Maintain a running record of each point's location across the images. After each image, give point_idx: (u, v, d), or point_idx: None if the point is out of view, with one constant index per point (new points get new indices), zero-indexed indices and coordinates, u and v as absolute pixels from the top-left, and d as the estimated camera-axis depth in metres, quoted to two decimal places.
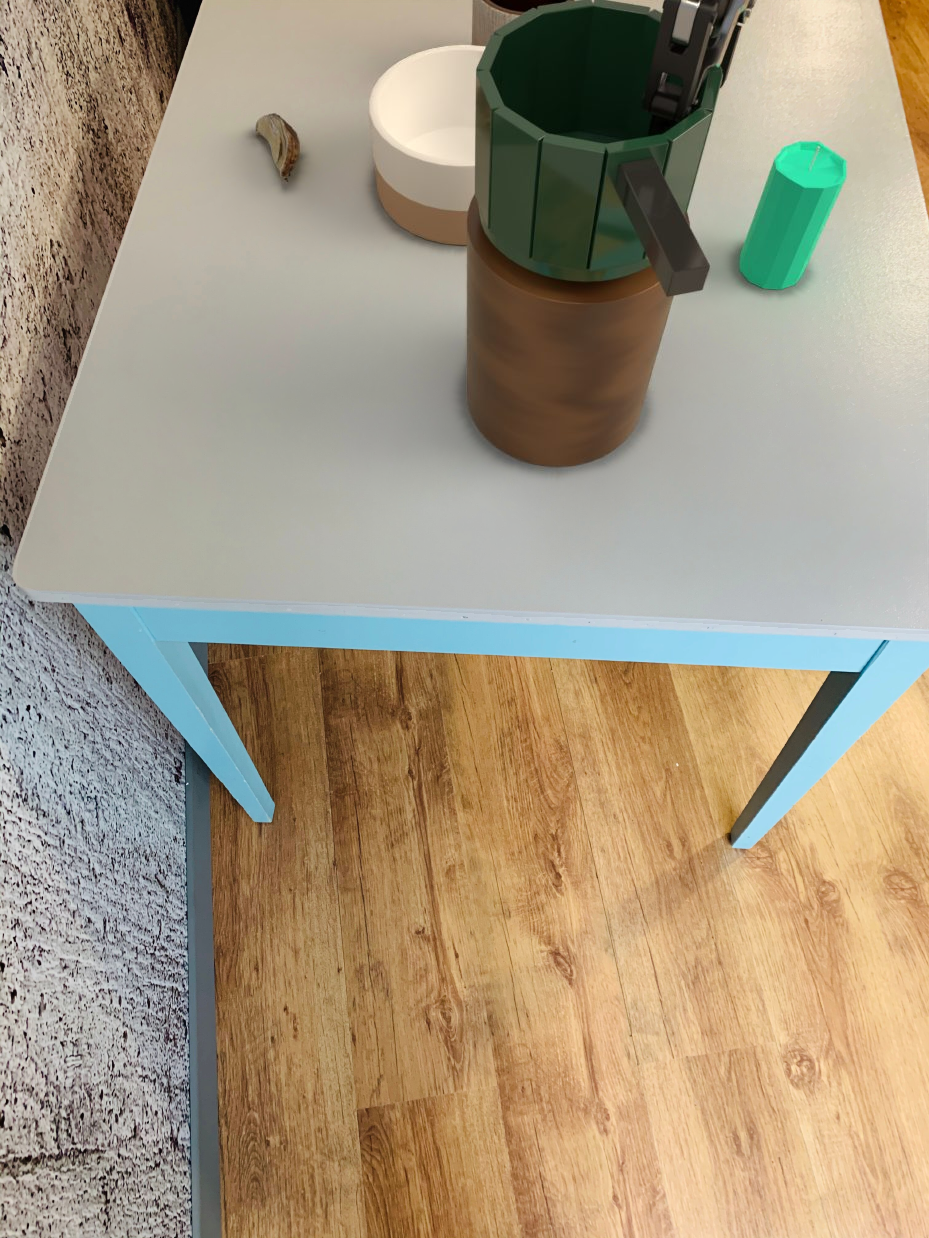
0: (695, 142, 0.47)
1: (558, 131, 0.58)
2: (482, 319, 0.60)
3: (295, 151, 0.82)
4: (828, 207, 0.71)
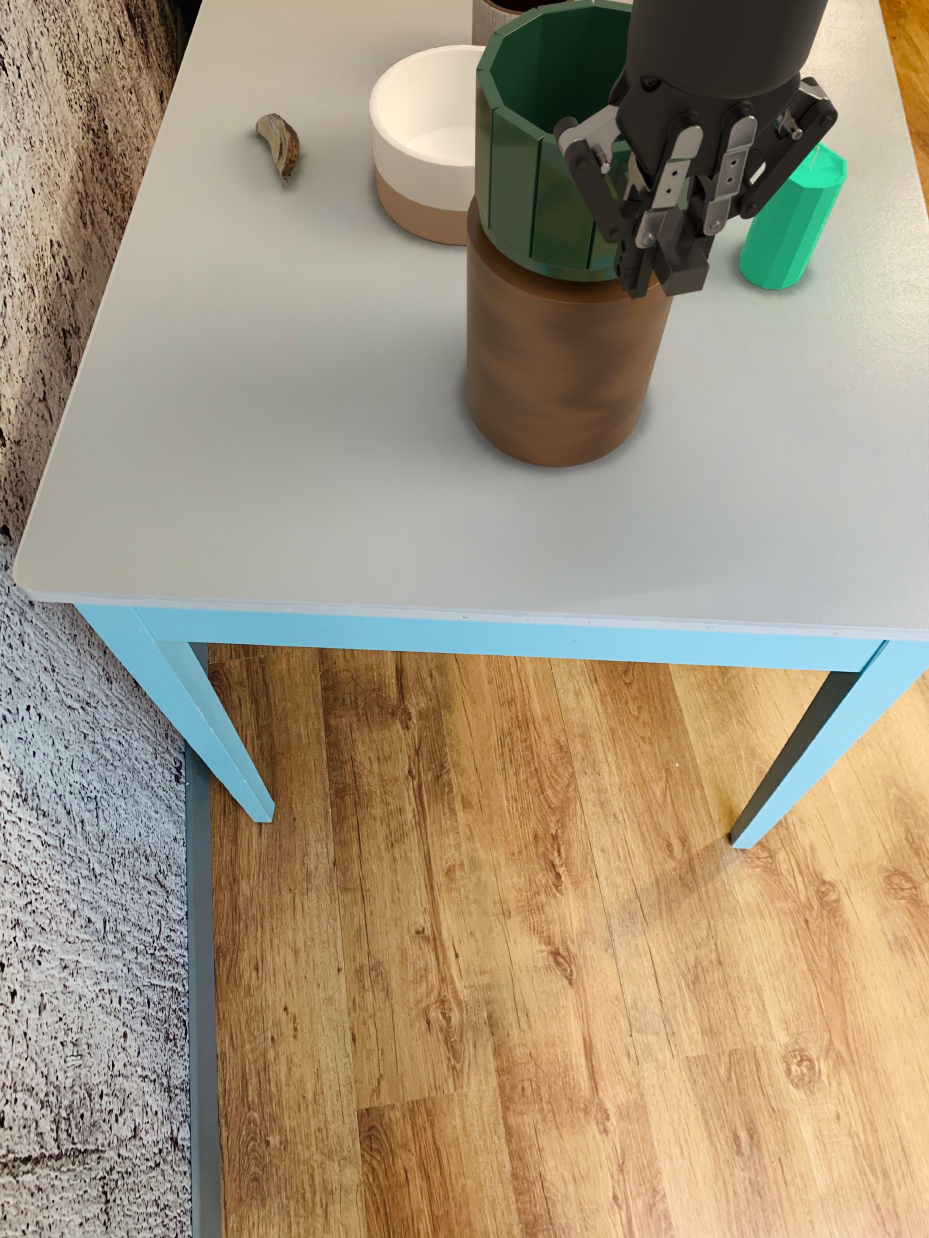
0: None
1: None
2: (482, 319, 0.60)
3: (295, 151, 0.82)
4: (828, 207, 0.71)
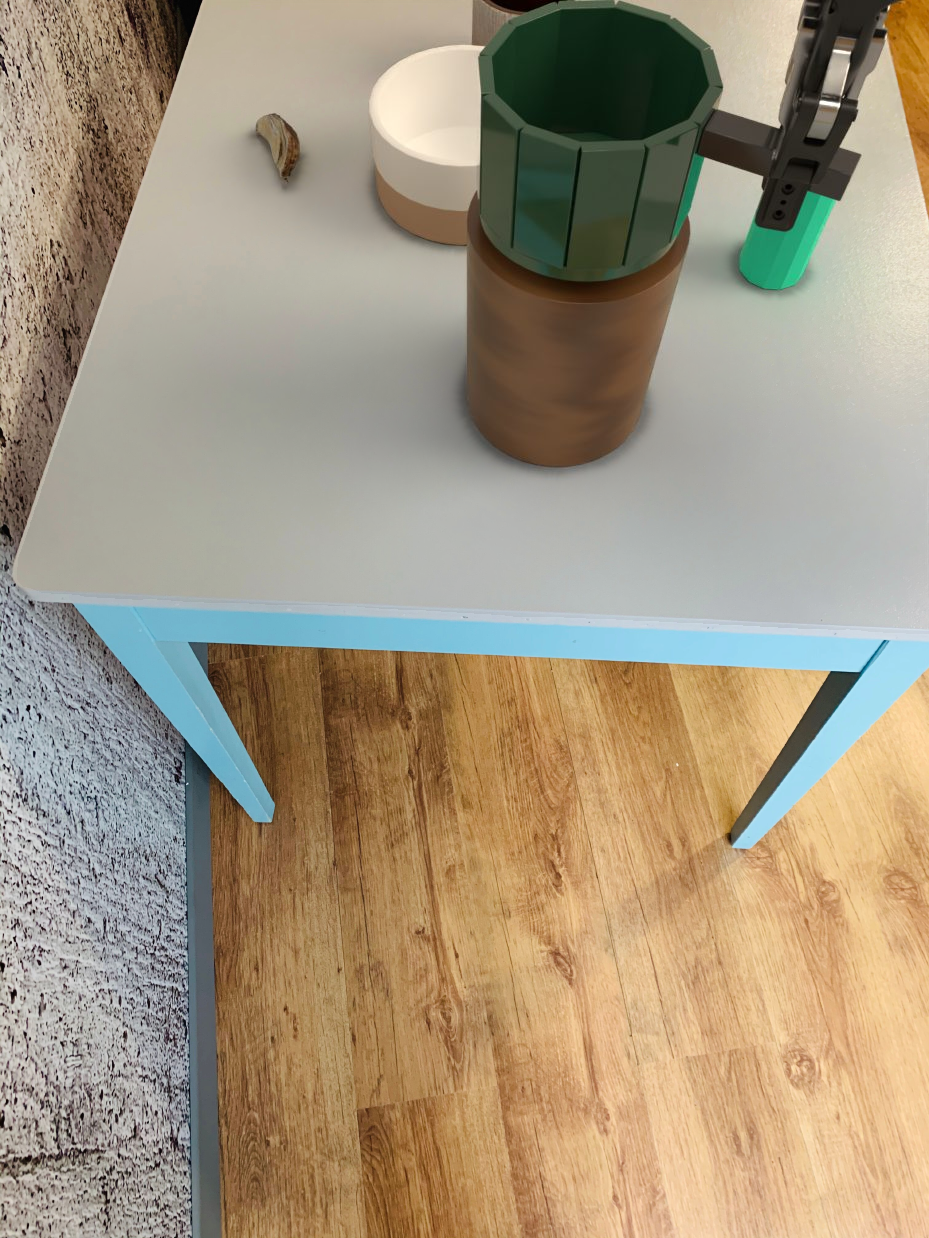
0: None
1: None
2: (482, 319, 0.60)
3: (295, 151, 0.82)
4: (828, 207, 0.71)
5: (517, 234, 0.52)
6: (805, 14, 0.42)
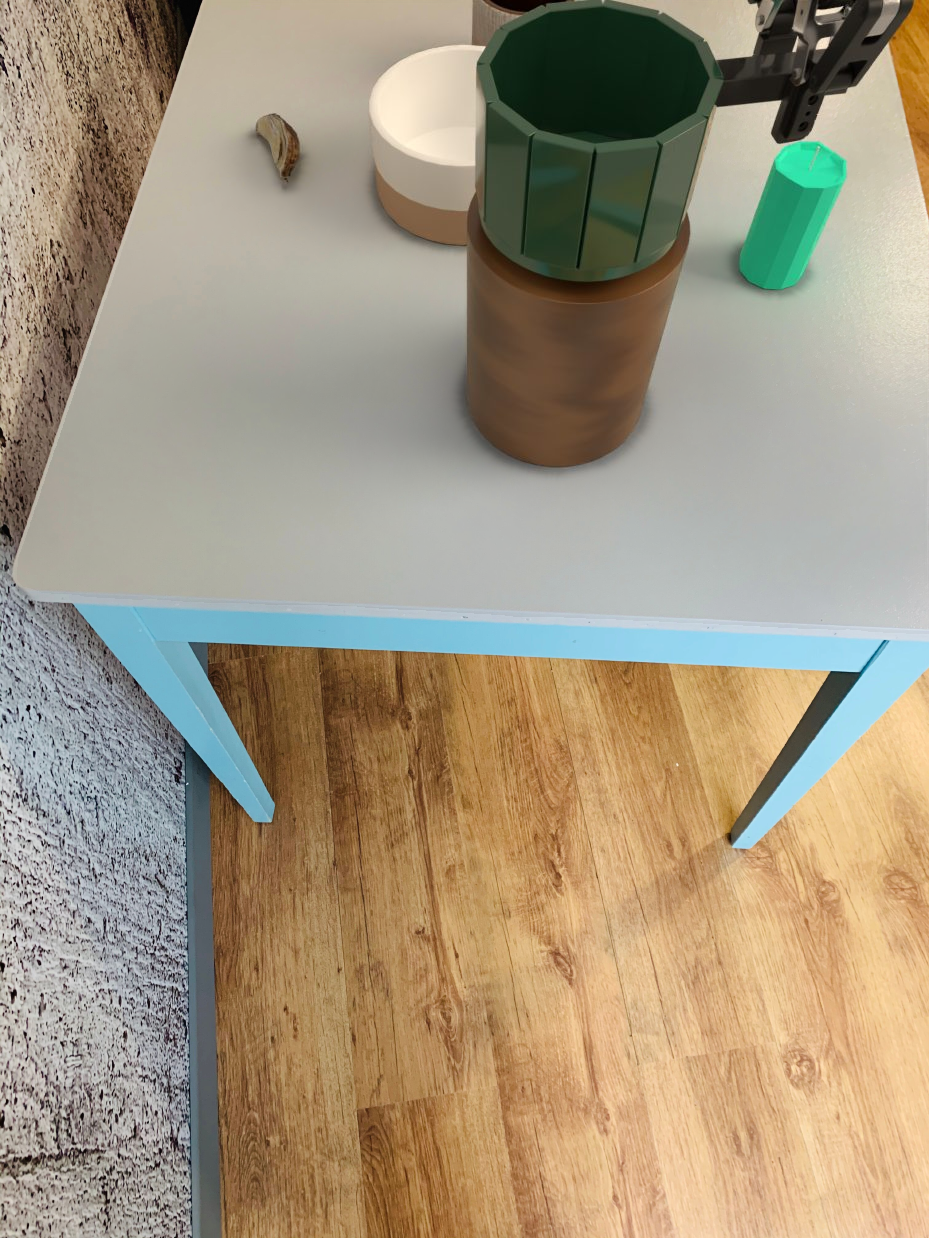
0: None
1: None
2: (482, 319, 0.60)
3: (295, 151, 0.82)
4: (828, 207, 0.71)
5: (585, 253, 0.51)
6: None
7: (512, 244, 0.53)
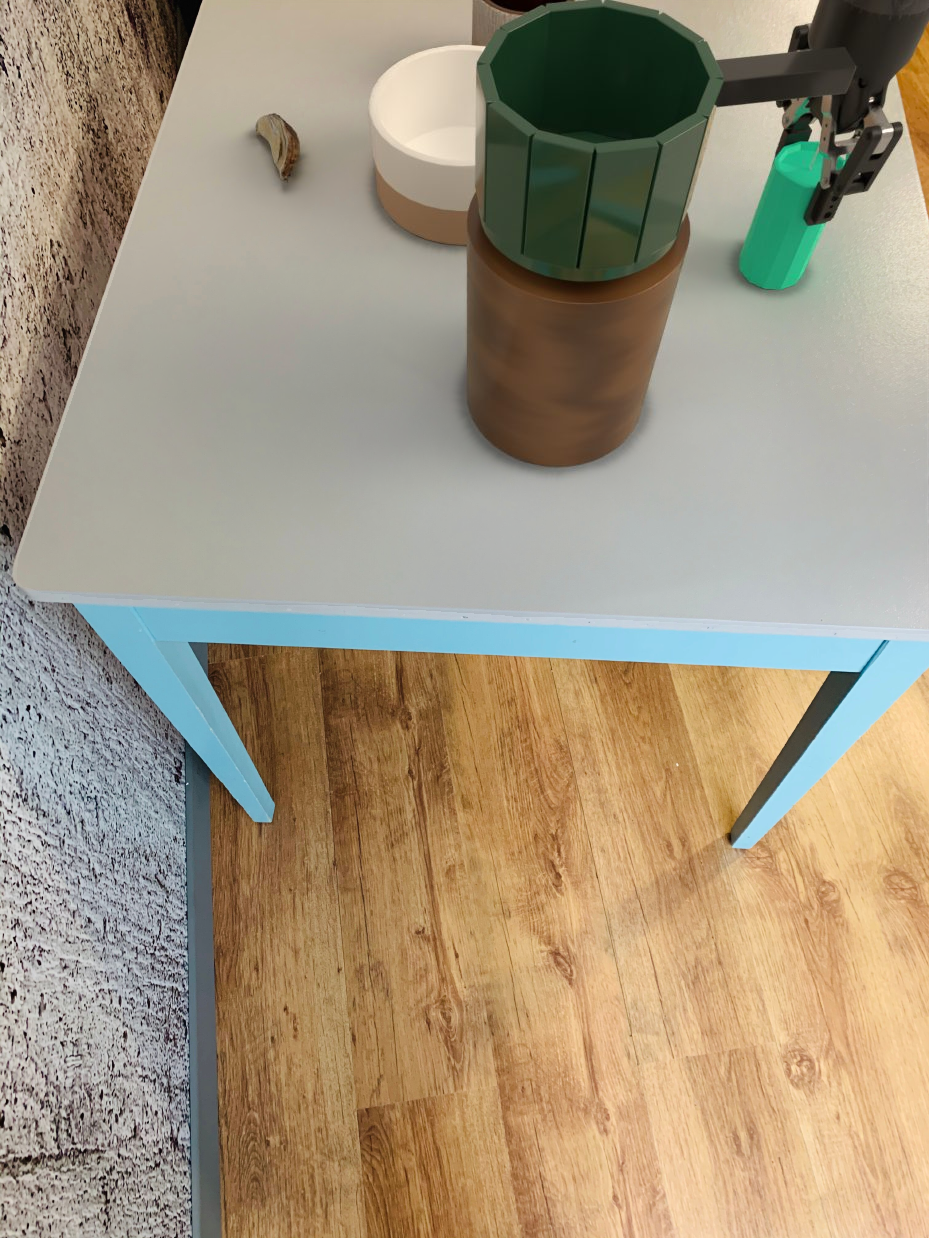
0: None
1: None
2: (482, 319, 0.60)
3: (295, 151, 0.82)
4: None
5: (585, 253, 0.51)
6: None
7: (512, 244, 0.53)
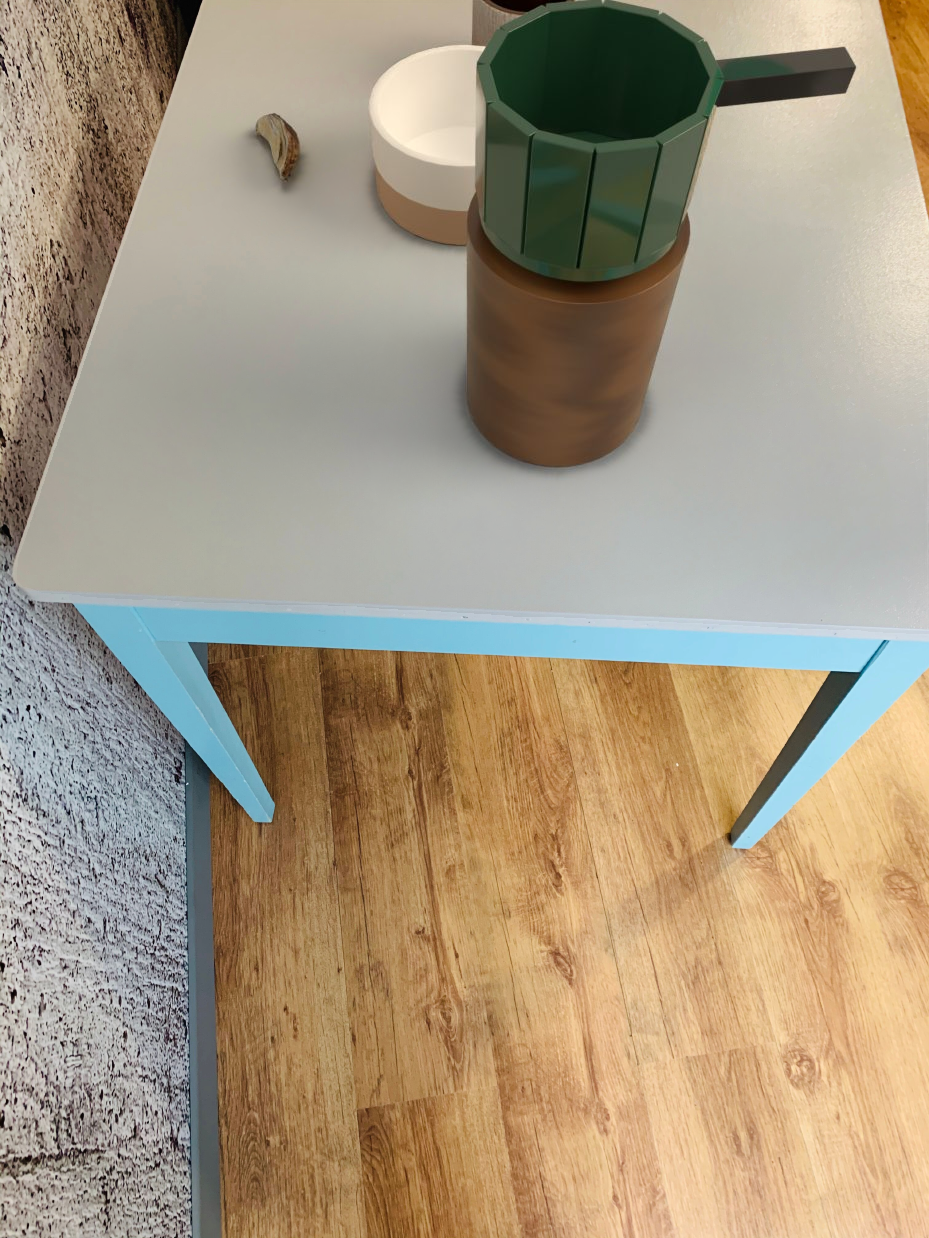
0: None
1: None
2: (482, 319, 0.60)
3: (295, 151, 0.82)
4: None
5: (585, 253, 0.51)
6: None
7: (512, 244, 0.53)
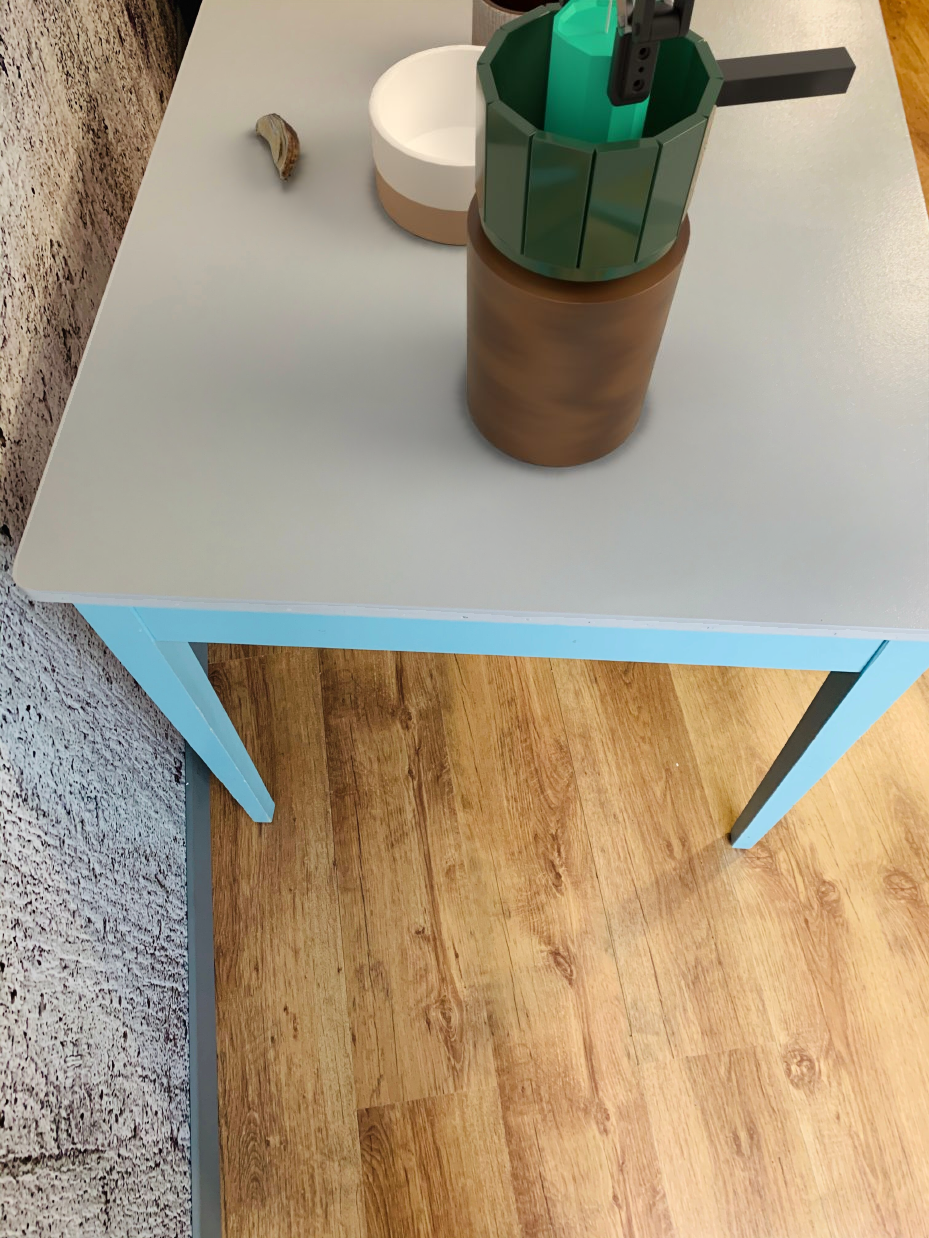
0: None
1: None
2: (482, 319, 0.60)
3: (295, 151, 0.82)
4: None
5: (585, 253, 0.51)
6: None
7: (512, 244, 0.53)
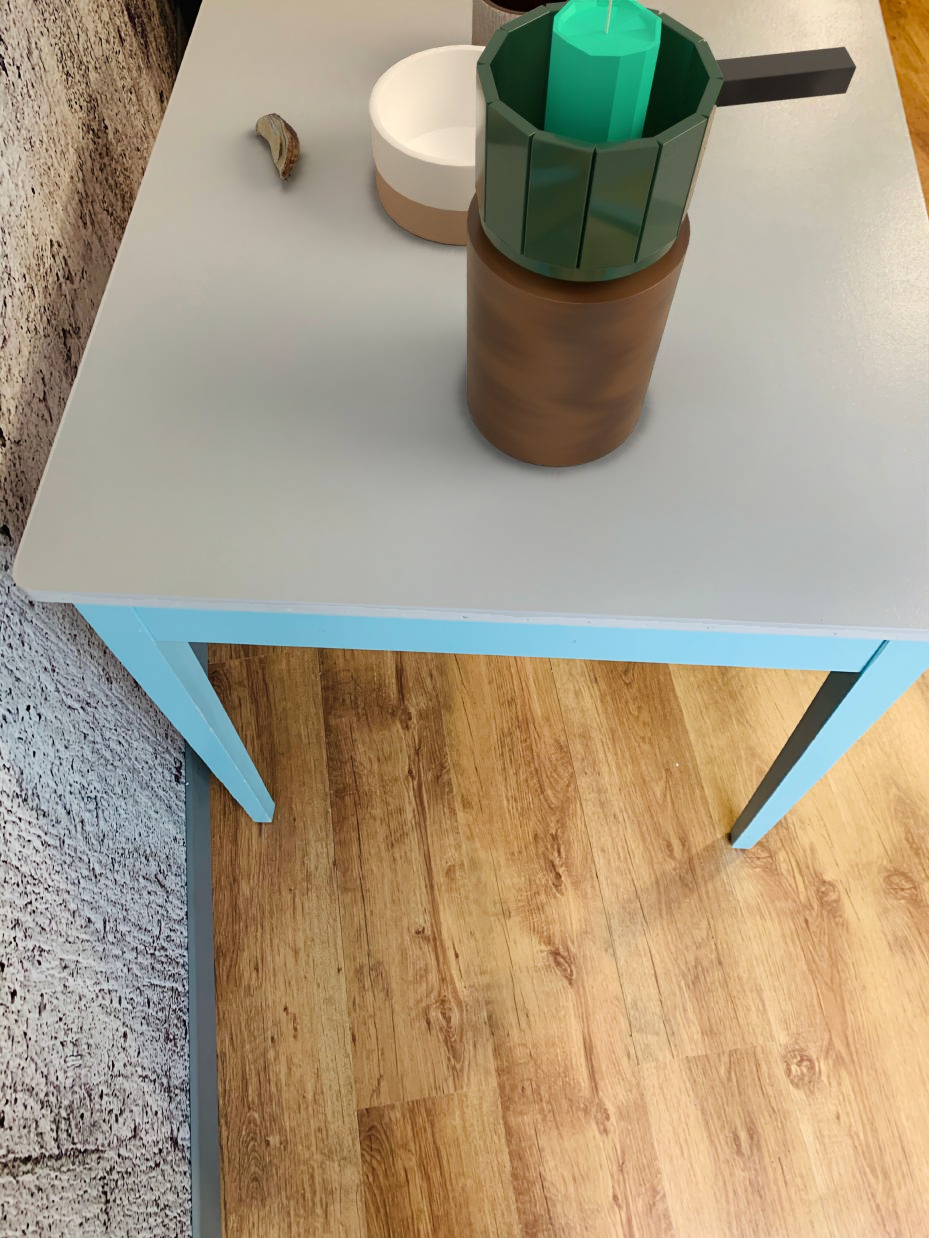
0: None
1: None
2: (482, 319, 0.60)
3: (295, 151, 0.82)
4: (637, 91, 0.47)
5: (585, 253, 0.51)
6: None
7: (512, 244, 0.53)
